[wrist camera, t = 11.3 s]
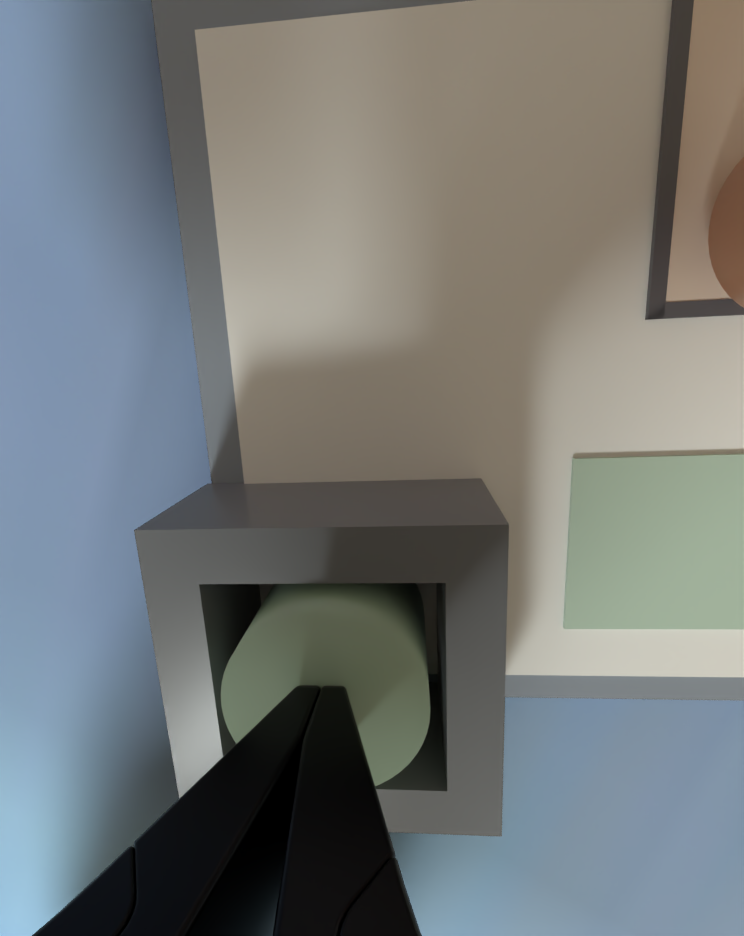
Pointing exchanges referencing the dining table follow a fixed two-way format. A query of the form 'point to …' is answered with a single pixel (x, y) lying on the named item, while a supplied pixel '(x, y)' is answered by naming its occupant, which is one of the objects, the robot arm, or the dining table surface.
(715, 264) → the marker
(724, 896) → the dining table surface
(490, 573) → the square board tray
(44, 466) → the dining table surface
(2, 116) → the dining table surface
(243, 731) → the button
